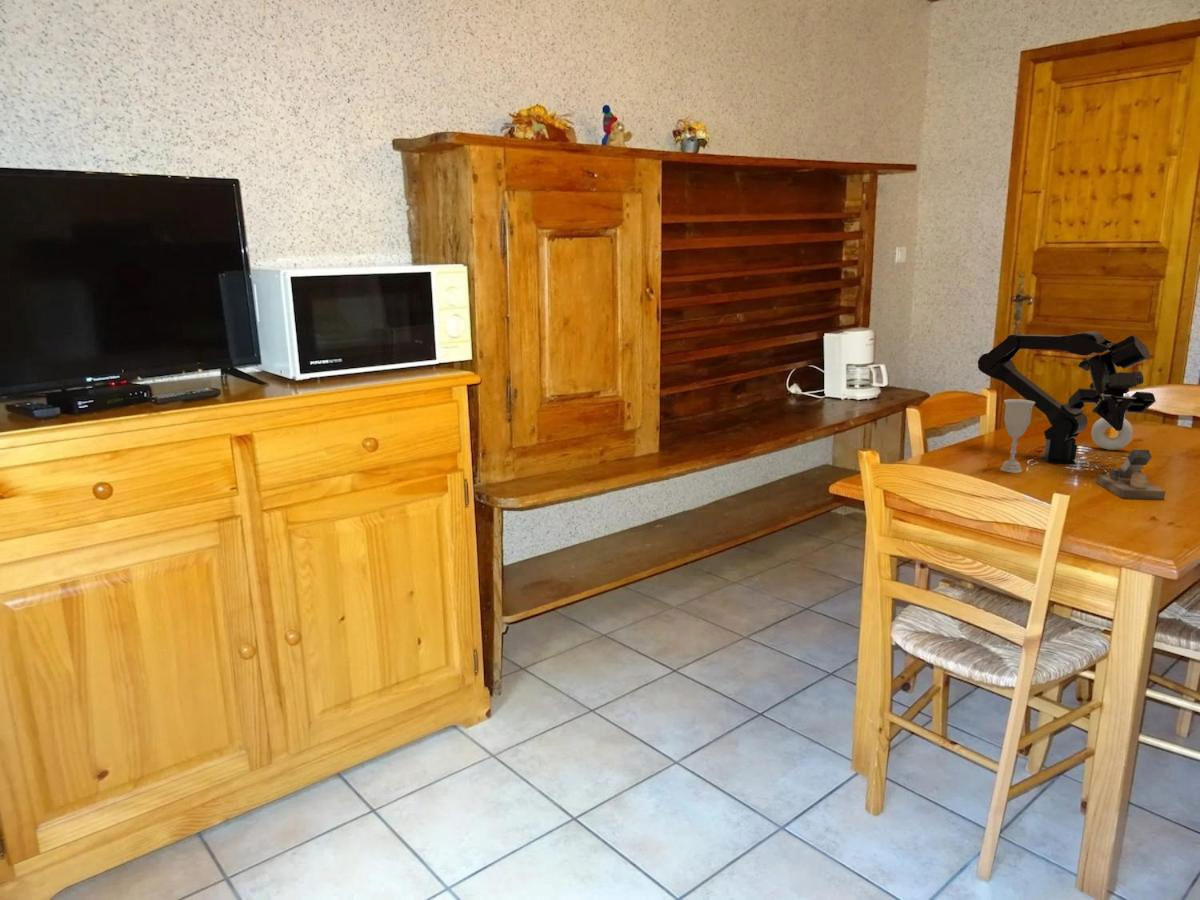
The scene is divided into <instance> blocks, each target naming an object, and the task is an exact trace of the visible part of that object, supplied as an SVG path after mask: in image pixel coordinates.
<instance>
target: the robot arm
mask: <svg viewBox="0 0 1200 900" xmlns="http://www.w3.org/2000/svg"><path fill="white" fill-rule="evenodd" d="M1021 349H1023V350H1052V351H1053V350H1054V351H1063V352H1065V353H1066V352H1067V353H1069V354H1074V355H1078V356H1089V355H1093V356H1091V357H1089V358H1086V357H1083V360H1082V361H1081V362H1079V364H1078V368H1081V369H1082V370H1084V371H1086V372H1088V371H1089V375H1090V378H1091V383H1090V384H1089V387H1090V388H1081V387H1079V388H1078V389H1077V390H1076V391H1075V392H1074V393H1073V394H1072V395H1071V396H1070V397H1069V398H1068V402H1066V403H1061V402H1059V401H1058V400H1056V399H1055V398H1054V397H1053V396H1051V395H1050V394H1048V392H1046V391H1044V390H1043V389H1042V388H1040V386H1039V385H1037V384H1036V383H1034V382H1033V381H1031V380H1030V379H1029V378H1028V377H1026V376H1025V375H1024V374H1022V372H1020V371H1019V370H1018V369H1017V367H1016V366H1015V363H1014V361H1013V360H1012V359H1014V357H1015V356H1016V355H1017V353H1018V352H1019V351H1020V350H1021ZM1094 354H1095V355H1094ZM1150 356H1151V355H1150V351H1149V349H1148V347H1147V345H1146V344H1144V343H1143V341H1142V340H1141V339H1139V338H1138V336H1137V335H1136V334H1132V335H1130V336H1127V337H1126V338H1125V339H1123V340H1121V341H1118V342H1117V343H1116V342H1114V341H1111V340H1108V339H1107V338H1105V336H1104V335H1103V334H1102V333H1101V332H1099V331H1094V330H1093V331H1086V332H1079V333H1073V334H1072V333H1071V334H1067V335H1064V334H1063V335H1062V334H1061V335H1059V334H1022V333H1013V334H1010V335H1008V336H1007V337H1006V338H1005V339H1004V340H1003V341H1001V343H999V344H998V345H996V346H995V347H994V348H992V349H991V350H990V351H989V352H986V353H983V354H982V355H980V356H979V358H978V360H977V368H978V370H979V371H980V372H981V373H983V374H985V375H986V376H988V377H991V378H992V379H995V380H998V381H999V382H1000V381H1001V382H1003V383H1004V384H1006V385H1007V386H1008V387H1010V388H1011V389H1012V390H1013V391H1014V392H1016V393H1017V394H1018V395H1020V396H1021V397H1022V398H1023V399H1024V400H1030V401H1034V402H1035V404H1034V406H1033V407H1035V408H1036V409H1038V410H1039V411H1040V412H1041V413H1042V414H1044V415H1045V417H1046V419H1047V420H1048V423H1049V424H1050V425H1051V426H1050V427H1048V428H1047V429H1046V430H1044V432H1043V433H1044V437H1045V439H1046V440H1045V448H1044V449H1045V450H1044V454H1042V455H1041V457H1042V458H1043V459H1044V458H1045V459H1044V460H1046V461H1047V462H1048V463H1052V464H1053V463H1054V464H1076V457H1077V451H1078V445H1077V444H1076V442H1077V439H1076V438H1077V437H1078V436H1079V434H1080V433H1081V432H1083V431H1085V430H1086V429H1087V427H1088V423H1089V422H1088V417H1087V415H1086V414H1085V410H1083V408H1084V407H1085V404H1084V403H1087V404H1094V408H1092V413H1094V414H1095V413H1096V414H1097V415H1098V416H1099V417H1100V418H1103V419H1105V420H1106V421H1107V422H1108V423H1109V424H1110V425H1111V426H1112V427H1111V428H1113V429H1114V430H1115V431H1117V432H1119V431H1121V430H1122V427H1123V421H1124V419H1125V415H1126V412H1129V413H1143V412H1145V411H1147V409H1148V408H1149V407H1151V406H1152V405H1153V404H1154V403H1156V402H1157V400H1156V397H1155V394H1154V393H1152V392H1148V391H1136V392H1134V393H1133V394H1131V396H1127V395H1124V394H1127V393H1128V392H1130V390H1129V389H1131V388H1133V387H1138V386H1140V385H1142V384H1144V381H1145V380H1144V378H1145V377H1144V374H1143V372H1142V370H1141V371H1139V370H1137V371H1136V370H1134V371H1132V372H1124V371H1121V372H1119V371H1117V368H1123V369H1128V368H1130V367H1133V366H1135V365H1138V364H1140V363H1142V362H1144V361H1146V360H1149V359H1150Z"/></svg>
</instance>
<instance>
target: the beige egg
mask: <svg viewBox="0 0 1200 900" xmlns="http://www.w3.org/2000/svg"><path fill="white" fill-rule="evenodd" d="M1147 482H1148V476H1147V474H1145V472H1142V471H1141V472H1136V473H1134V474H1133V475H1132V476H1131V481H1130V487H1132V488H1137V489H1145V488H1146V485H1147Z"/></svg>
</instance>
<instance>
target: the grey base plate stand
mask: <svg viewBox="0 0 1200 900" xmlns="http://www.w3.org/2000/svg"><path fill="white" fill-rule="evenodd" d="M1119 472H1120V469H1118V468H1111V471H1110V474H1096V479H1095V484H1098V485H1099V486H1101V487H1103V488H1105V490H1108V491H1110V493H1112V494H1115V495H1116V496H1118V497H1119V498H1121V499H1127V500H1131V499H1133V500H1163V501H1164V500H1165V495H1166V490H1164V489H1162V488H1160V487H1159V486H1158V485H1157V486H1156V485H1155V484H1153V483H1151V482H1149V481H1147V485H1146V488H1145V489H1137V488H1132V487H1130V481H1131V479H1120V478H1119ZM1139 472H1142V470H1140V471H1139Z"/></svg>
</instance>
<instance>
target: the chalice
mask: <svg viewBox="0 0 1200 900" xmlns="http://www.w3.org/2000/svg"><path fill="white" fill-rule="evenodd" d="M1003 401H1004V404H1005V407H1004V408H1005V409H1004V418H1003V420H1004V424H1005V425H1004V426H1005V429H1006V431H1007V434H1008V436H1009V437H1012V442H1011V443H1010V446H1011V450H1009V453H1010V457H1009V459H1007V460H1005V461H1004V462H1003V464H1002V466H1001V467H1000V468H999V469H1000V471H1003V472H1006V473H1016V474H1017V473H1018V474H1019V473H1022V472H1023V470H1022V468H1021V467H1022V466H1021V464H1020V462H1019V461H1017V459H1016V455H1017V454H1018V451H1017V447H1018V446H1019V444H1018V439H1019V438H1021V437H1022V436H1023V434H1024V433H1025V432H1026V431H1027V430H1028V428H1029V425H1030V423H1031V421H1032V420H1031V419H1032V414H1033V413H1032V412H1033V407H1035V406H1034V404H1035V402H1034V401H1030V400H1026V399H1023V398H1022V399H1019V398H1018V399H1017V398H1008V399H1004V400H1003Z"/></svg>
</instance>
